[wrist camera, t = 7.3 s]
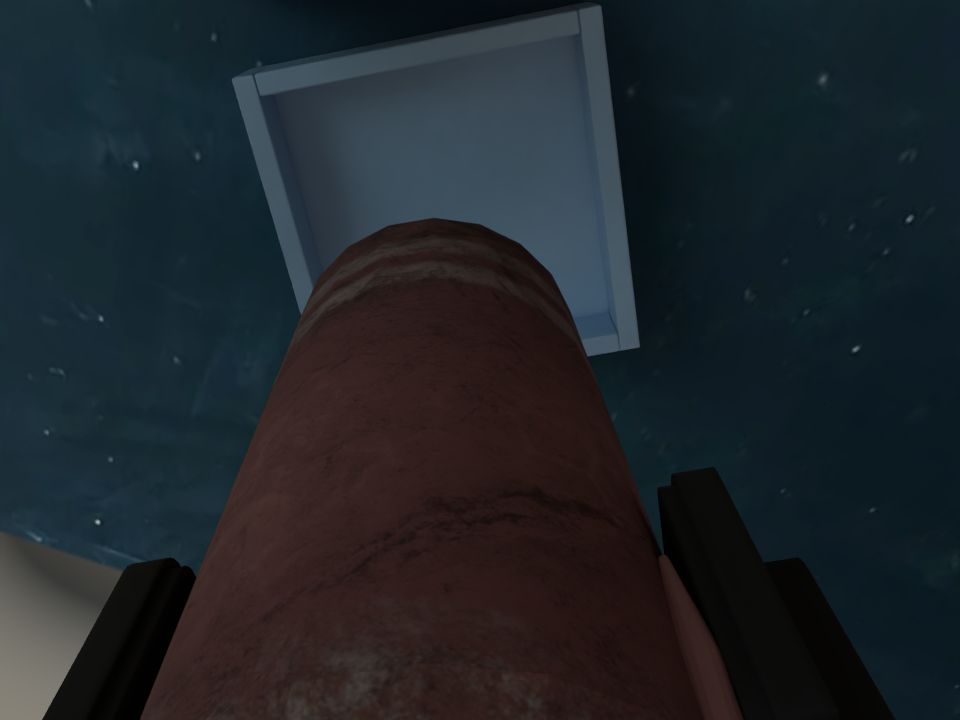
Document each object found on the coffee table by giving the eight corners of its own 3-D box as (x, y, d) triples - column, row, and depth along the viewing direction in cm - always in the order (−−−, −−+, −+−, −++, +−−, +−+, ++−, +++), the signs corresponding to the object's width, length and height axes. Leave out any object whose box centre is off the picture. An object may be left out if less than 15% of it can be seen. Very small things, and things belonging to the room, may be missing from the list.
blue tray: (335, 372, 33) (326, 403, 31) (248, 68, 28) (230, 78, 26) (627, 321, 32) (639, 347, 30) (589, 1, 28) (601, 4, 25)
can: (633, 333, 20) (993, 1017, 7) (438, 500, 21) (434, 1297, 9) (446, 141, 18) (458, 604, 5) (246, 343, 19) (-130, 1076, 7)
